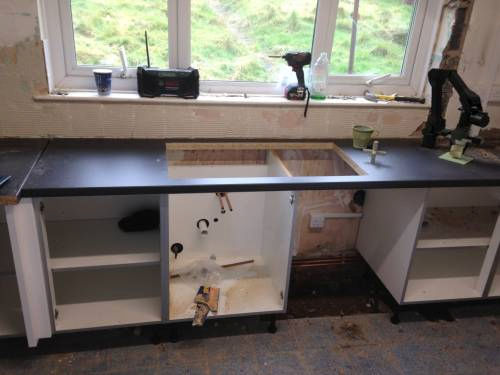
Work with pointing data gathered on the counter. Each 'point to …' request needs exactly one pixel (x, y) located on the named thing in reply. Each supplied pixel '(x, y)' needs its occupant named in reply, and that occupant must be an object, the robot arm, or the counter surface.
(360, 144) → the ceramic cup
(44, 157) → the counter surface
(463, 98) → the robot arm
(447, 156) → the sage mat
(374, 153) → the pipe connector
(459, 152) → the beech block
